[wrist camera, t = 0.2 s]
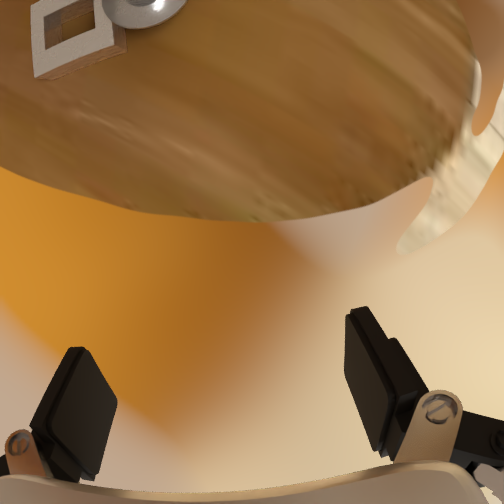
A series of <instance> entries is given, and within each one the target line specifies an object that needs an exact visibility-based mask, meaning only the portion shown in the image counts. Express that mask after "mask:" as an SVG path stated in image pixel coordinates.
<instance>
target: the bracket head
mask: <svg viewBox="0 0 504 504" xmlns="http://www.w3.org/2000/svg"><path fill="white" fill-rule="evenodd" d="M187 1H188V0H40V1H38V2H36V3H35V4H33V5H31V41H32V56H33V68H34V78H39V79H49V80H55V79H58V78H60V77H62V76H65V75H67V74H69V73H72V72H74V71H77V70H79V69H82V68H84V67H87V66H89V65H92V64H95V63H97V62H100V61H103V60H106V59H109V58H111V57H114V56H117V55H120V54H124V53H127V52H128V50H127V42H126V34H125V28H127V29H147V28H151V27H154V26H158V25H160V24H162V23H164V22H166V21H168V20H169V19H171V18H172V17H174V16H175V15H176V14H177V13H179V12H180V10H181V9H182V8H183V7H184V6H185V5H186V3H187ZM92 11H94V15H95V26H96V28H95V29H92V30H90V31H87V32H85V33H82V34H80V35H77V36H75V37H73V38H70V39H68V40H66V41H64V42H63V39H62V24H64V23H66V22H68V21H71V20H73V19H75V18H77V17H80V16H82V15H85V14H87V13H89V12H92Z"/></svg>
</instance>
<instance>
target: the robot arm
mask: <svg viewBox="0 0 504 504" xmlns="http://www.w3.org/2000/svg"><path fill="white" fill-rule="evenodd" d="M345 318H346V319H345V357H344V358H345V359H344V374H345V378H346V381H347V383H348V386H349V388H350V391H351V394H352V396H353V398H354V401H355V404H356V407H357V409H358V412H359V415H360V417H361V420H362V422H363V425H364V428H365V430H366V433H367V436H368V439H369V442H370V444H371V447H372V450H373V451H374V452H375V451H379V454H380V456H381V458H382V457H385V456H388V455H389V457H390V460H391V461H393V464H390V465H385V466H379V467H375V468H372V469H367V470H362V471H358V472H353V473H349V474H345V475H341V476H336V477H332V478H327V479H322V480H316V481H311V482H306V483H299V484H293V485H288V486H281V487H273V488H265V489H256V490H245V491H232V492H214V493H164V492H145V491H132V490H122V489H113V488H104V487H97V486H91V485H85V484H80V482H79V480H80V477H81V478H82V479H84V480H89V481H94V479H95V475H96V474H98V473H99V470H100V466H101V462H102V458H103V455H104V451H105V447H106V443H107V440H108V436H109V432H110V429H111V425H112V421H113V418H114V415H115V412H116V408H117V398H116V396H115V394H114V393H113V391H112V389H111V388H110V386H109V385H108V383H107V381H106V380H105V378H104V376H103V375H102V373H101V371H100V369H99V368H98V366H97V364H96V362H95V361H94V359H93V357H92V355H91V353H90V352H89V351H88V350H86V349H85V348H84V347H70V348H69V349H68V350H67V352H66V354H65V356H64V357H63V359H62V361H61V363H60V365H59V367H58V369H57V370H56V372H55V374H54V376H53V378H52V380H51V382H50V384H49V386H48V388H47V390H46V392H45V394H44V396H43V398H42V400H41V402H40V404H39V406H38V408H37V410H36V412H35V414H34V416H33V419H32V421H31V423H30V425H29V426H30V427H31V428H32V432H31V433H30V432H29V431H28V430H25V429H22V430H18V431H15V432H14V433H12V434H11V435H10V436H9V437H8V439H7V441H6V443H5V455H3V456H1V457H0V504H489V503H488V502H487V500H486V498H485V496H484V494H483V492H482V491H481V489H480V487H485V486H486V487H487V488H489V489H490V490H492V491H493V493H492V494H493V495H495V496H496V497H498V498H499V499H500V500H501V501H502V504H504V421H502V420H498V419H494V418H490V417H486V416H482V415H478V414H475V413H470V412H467V411H463V407H462V404H461V401H460V400H459V398H458V397H457V396H456V395H454V394H453V393H451V392H448V391H445V390H435V391H431V392H429V390H428V388H427V387H426V385H425V383H424V382H423V380H422V378H421V377H420V375H419V374H418V372H417V370H416V369H415V367H414V365H413V364H412V362H411V360H410V359H409V357H408V356H407V354H406V352H405V351H404V349H403V348H402V346H401V345H400V343H399V341H398V340H397V339H396V338H390V339H388V338H387V336H386V335H385V333H384V331H383V330H382V328H381V327H380V325H379V323H378V322H377V320H376V319H375V317H374V315H373V314H372V312H371V311H370V309H369V308H368V307H367V306H364V307H359V308H355V309H351V311H350V314H347V315H346V317H345Z"/></svg>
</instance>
